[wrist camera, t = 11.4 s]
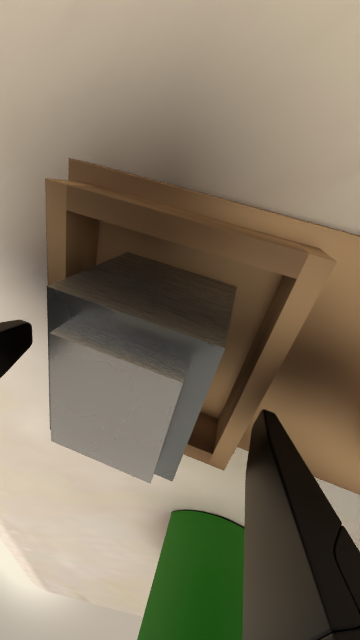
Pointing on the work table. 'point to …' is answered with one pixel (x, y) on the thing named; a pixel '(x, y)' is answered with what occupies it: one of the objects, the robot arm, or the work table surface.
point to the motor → (197, 581)
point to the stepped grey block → (133, 360)
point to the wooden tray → (238, 305)
